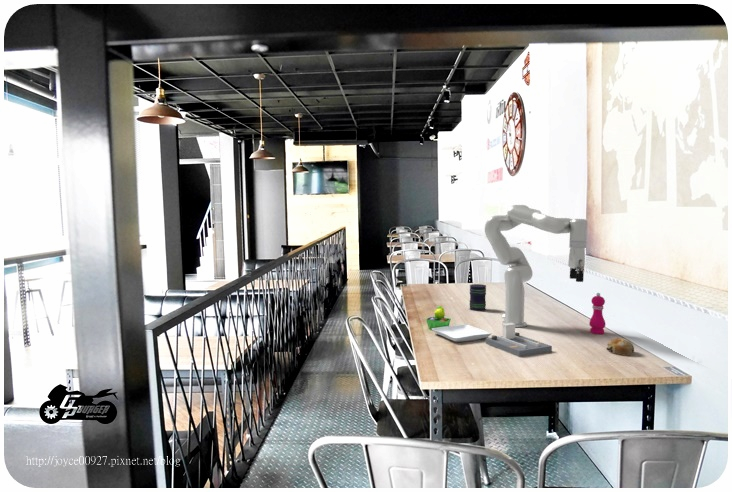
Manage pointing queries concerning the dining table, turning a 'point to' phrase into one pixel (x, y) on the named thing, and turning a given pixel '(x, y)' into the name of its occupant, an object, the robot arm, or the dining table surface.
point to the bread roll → (621, 347)
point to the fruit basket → (438, 319)
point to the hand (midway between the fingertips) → (576, 280)
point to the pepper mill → (597, 315)
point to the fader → (509, 330)
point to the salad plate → (461, 333)
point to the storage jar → (477, 297)
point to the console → (518, 345)
